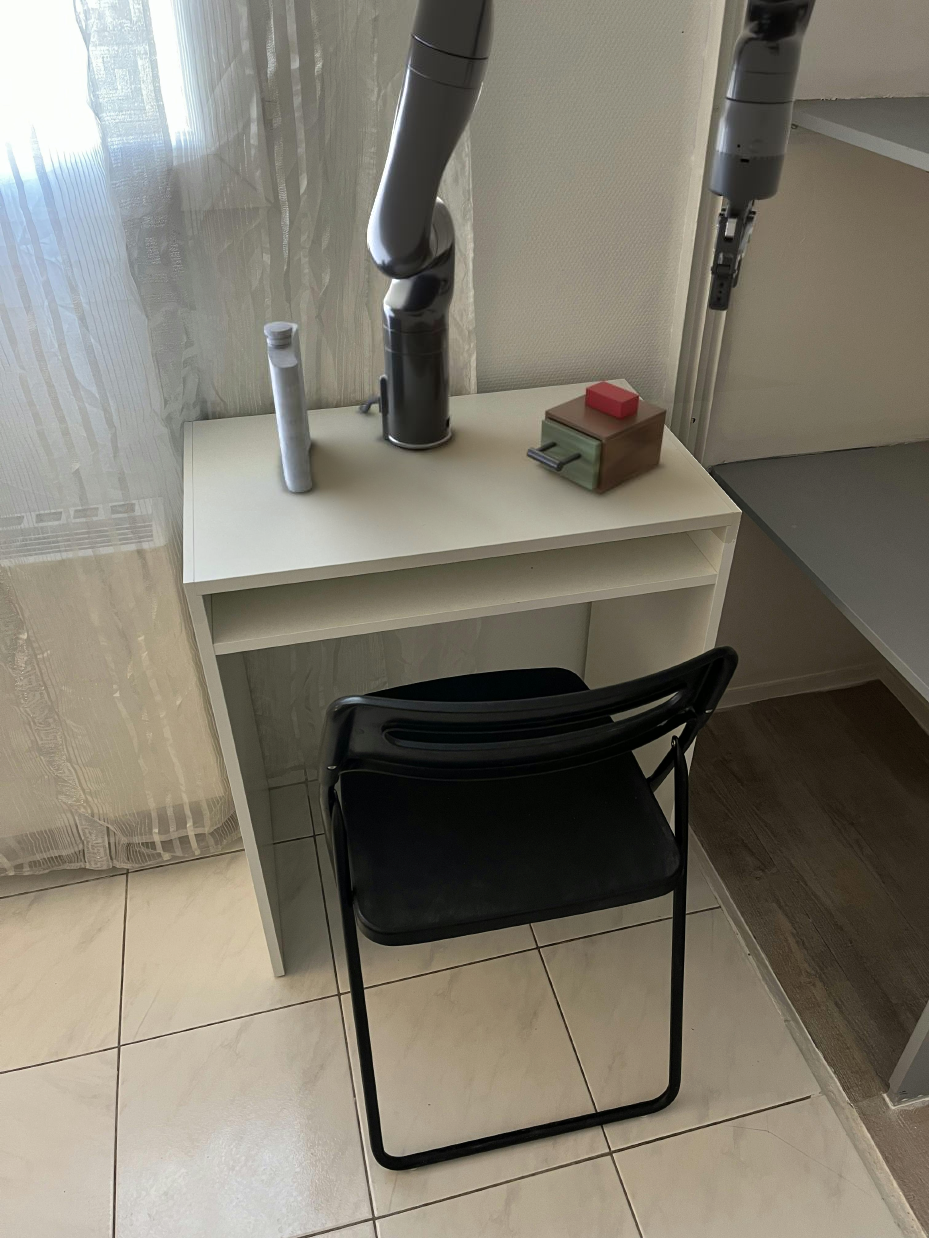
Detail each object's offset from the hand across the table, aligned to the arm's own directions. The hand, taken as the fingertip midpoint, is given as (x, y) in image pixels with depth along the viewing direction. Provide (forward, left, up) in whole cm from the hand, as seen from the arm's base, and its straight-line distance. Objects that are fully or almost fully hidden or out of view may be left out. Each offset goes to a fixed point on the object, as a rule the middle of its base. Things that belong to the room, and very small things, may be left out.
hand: (722, 297), depth 110 cm
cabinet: (-13, +2, -26) cm, 29 cm away
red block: (-13, +3, -18) cm, 22 cm away
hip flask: (-53, -14, -26) cm, 61 cm away
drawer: (-15, -1, -25) cm, 29 cm away
